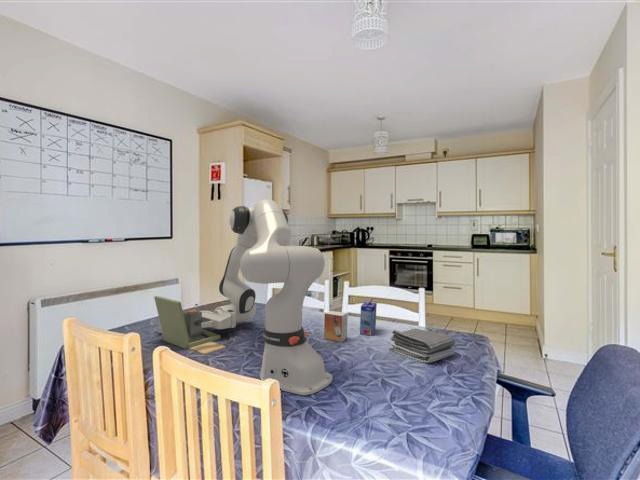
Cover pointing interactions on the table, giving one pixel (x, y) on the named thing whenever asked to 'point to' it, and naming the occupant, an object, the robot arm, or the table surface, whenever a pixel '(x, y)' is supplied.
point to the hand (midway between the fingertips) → (193, 323)
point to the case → (177, 324)
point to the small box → (335, 326)
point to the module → (193, 325)
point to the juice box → (368, 318)
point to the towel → (422, 345)
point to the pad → (207, 347)
